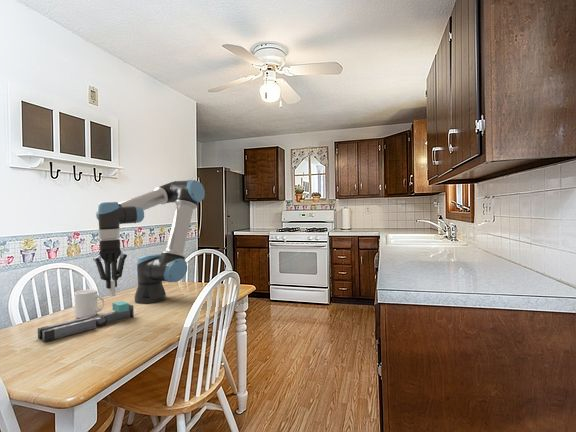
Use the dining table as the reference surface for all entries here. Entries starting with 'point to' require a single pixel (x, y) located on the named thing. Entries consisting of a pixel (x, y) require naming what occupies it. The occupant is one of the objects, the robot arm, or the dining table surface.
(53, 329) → the tongs jaw
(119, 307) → the tab
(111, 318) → the tongs body
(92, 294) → the mug
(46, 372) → the dining table surface
